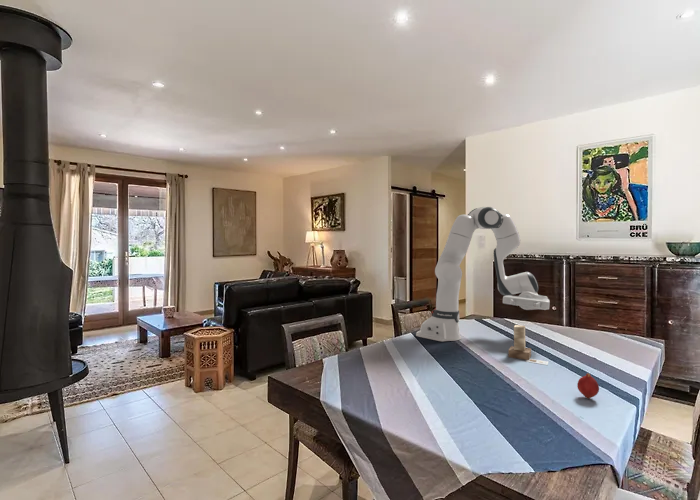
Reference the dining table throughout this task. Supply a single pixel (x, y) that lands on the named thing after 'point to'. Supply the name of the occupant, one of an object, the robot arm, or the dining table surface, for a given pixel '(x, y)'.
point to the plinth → (519, 353)
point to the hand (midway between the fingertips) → (524, 303)
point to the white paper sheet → (537, 361)
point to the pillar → (519, 337)
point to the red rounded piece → (588, 386)
